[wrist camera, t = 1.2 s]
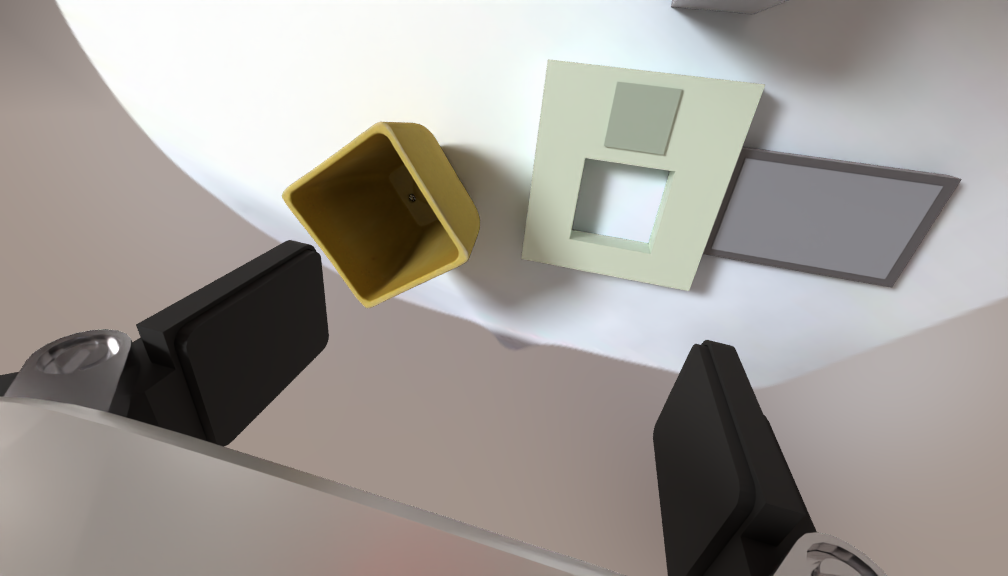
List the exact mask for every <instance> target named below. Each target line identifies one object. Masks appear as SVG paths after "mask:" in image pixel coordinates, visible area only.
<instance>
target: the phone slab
mask: <svg viewBox="0 0 1008 576" xmlns="http://www.w3.org/2000/svg"><path fill="white" fill-rule="evenodd" d="M960 181H961V179H959V178H956V177H953V176H950V175H943V174H936V173H929V172H922V171H914V170H907V169H900V168H893V167H885V166H878V165H871V164H864V163H856V162H849V161H842V160H835V159H827V158H820V157H813V156H805V155H798V154H791V153H784V152H776V151H769V150H762V149H755V148H747V147H742V149H741V152H740V154H739V157H738V160H737V162H736V165H735V168H734V171H733V173H732V176H731V179H730V181H729V184H728V187H727V189H726V192H725V195H724V198H723V200H722V203H721V206H720V208H719V211H718V214H717V216H716V219H715V222H714V225H713V227H712V230H711V233H710V235H709V238H708V241H707V244H706V246H705V249H704V252H703V254H706V255H712V256H718V257H723V258H729V259H735V260H740V261H746V262H752V263H757V264H763V265H768V266H774V267H780V268H785V269H791V270H797V271H802V272H808V273H813V274H819V275H825V276H830V277H836V278H842V279H847V280H853V281H858V282H864V283H870V284H875V285H881V286H887V287H892V286H893V285H894V283H895V282H896V280H897V279H898V277H899V276H900V274H901V273H902V271H903V269H904V268H905V266H906V265H907V263H908V262H909V260H910V259H911V257H912V255H913V254H914V252H915V251H916V249H917V248H918V246H919V245H920V243H921V242H922V240H923V238H924V237H925V235H926V234H927V232H928V231H929V229H930V228H931V226H932V224H933V223H934V221H935V220H936V218H937V217H938V215H939V214H940V212H941V211H942V209H943V207H944V206H945V204H946V203H947V201H948V200H949V198H950V197H951V195H952V193H953V192H954V190H955V189H956V187H957V186H958V184H959V183H960Z"/></svg>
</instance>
